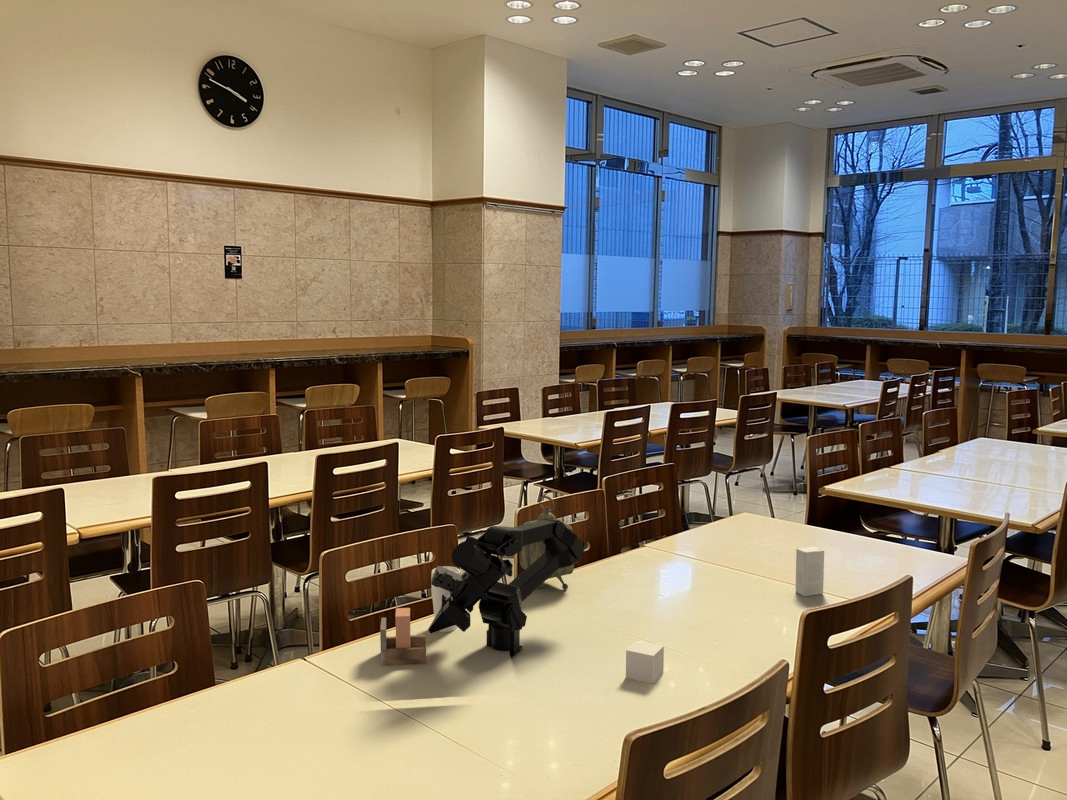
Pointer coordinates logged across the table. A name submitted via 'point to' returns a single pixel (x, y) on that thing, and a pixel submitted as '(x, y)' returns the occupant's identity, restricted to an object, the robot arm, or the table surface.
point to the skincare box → (809, 571)
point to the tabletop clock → (543, 547)
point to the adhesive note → (644, 661)
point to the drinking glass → (437, 597)
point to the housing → (401, 649)
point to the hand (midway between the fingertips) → (429, 631)
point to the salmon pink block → (403, 628)
